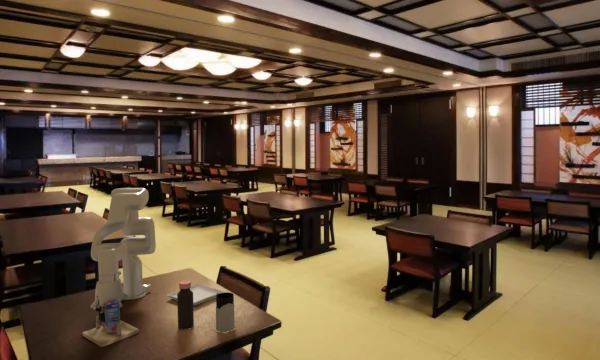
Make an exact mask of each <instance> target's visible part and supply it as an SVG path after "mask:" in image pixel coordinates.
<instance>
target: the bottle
mask: <svg viewBox="0 0 600 360" xmlns="http://www.w3.org/2000/svg"><path fill="white" fill-rule="evenodd" d="M178 286H179V287H178V288H179V289H178V290H180V291H179V292H178V294H177V300H176V301H177V303H176V304H177V328H178V329H180V330H184V329H185V330H189V328H190V329H192V328H193V327H194V325H195V322H194V321H195V320H194V319H195V318H194V317H195V315H194V313H195V312H194V305H193V292H192V291H191V290H190V288H191V286H192V282H191V281H190V280H182V281H180V282H178Z"/></svg>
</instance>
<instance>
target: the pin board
mask: <svg viewBox="0 0 600 360" xmlns="http://www.w3.org/2000/svg"><path fill="white" fill-rule="evenodd" d="M139 333H140V330H139V328H137V327H135V326H133V325H131V324H130V323H127V322H126V321H123V320H121V319H120V323H117V331H114V332H110V333H107V332H106V331H105V329H104V327H103V326H102V325H101V321H100V320H99V315H96V316H95V327H93V328H91V329H88V330H85V331H82V336H83V337H84V338H86V339H88V340H89V341H91V342H92V343H94V344H95V345H97V346H99V347H100V348H103V347H106V346H108V345H111V344H113V343H116V342H118V341H121V340H125V339H126V338H128V337H129V338H130V337H131V336H134V335H136V334H139Z"/></svg>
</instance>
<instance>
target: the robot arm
mask: <svg viewBox="0 0 600 360" xmlns="http://www.w3.org/2000/svg"><path fill="white" fill-rule="evenodd" d="M110 195H111V196H110V197H111V198H110V204H109V210H108V216H107V221H106V222H105V223H104V224H103V225H102V226H101V227H100V228H99V229H98V230H97V231H96V232H95V234H94V236H93V238H92V243H91V249H90V257H91V259H92V260H93V261H95V262H97V263H98V264H97V265H98V266H97V267H98V281H96V285H95V291H94V292H95V294H94V301H93V302H92V303H91V305H90V308H91V309H93V310H95V311H96V312H97V313H98V316H99V320H100V323H102V322H105V313H104V309H105V304H106V303H108V302H112V301H115V300H118V301H119V309H120V317H121V316H122V307H123V306H124V303H125V302H126V300H127V301H129V300H139V299H141V298H144V297H145V296H146V295H147V291H146V290H147V289H151V288H152V285H151V284H143V283H144V282H143V279H144V278H143V262H142V260H141V258H140V257H139V256H140V255H141V256H144V255H153V254H154V253H155V252H156V247H157V243H156V228H155V227H156V225H155V222H154V219H153V218H152V217H150V216H139V215H140V214H139V211H142V210H143V209H144V208H145V207H146V205H148V201H149V200H150V199H149V198H150V196H149V190H148V189H146V188H144V187H120V188H114V189H113V190H111V193H110ZM120 230H121V231H122V233H123V235H124V236H126V237H125V238H122V240H120V242H109V243H108V242H105V243H104V242H103V240H104V239H106V238H107V236H109V235H112V234H114V233H116V232H118V231H120ZM127 236H128V237H127ZM102 242H103V243H102ZM120 261H122V271H119V262H120ZM121 275H122V280H123V281H121V278H120V276H121ZM97 306H98V307H97Z"/></svg>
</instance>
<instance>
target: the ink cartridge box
mask: <svg viewBox="0 0 600 360" xmlns="http://www.w3.org/2000/svg"><path fill="white" fill-rule="evenodd" d="M104 313H105V322H101V326H103V327H104V329H105V331H106V332H107V333H110V332H114V331H117V323H120V320H121V316H120V309H119V301H118V300H115V301H112V302H108V303H106V304H105V309H104Z"/></svg>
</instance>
